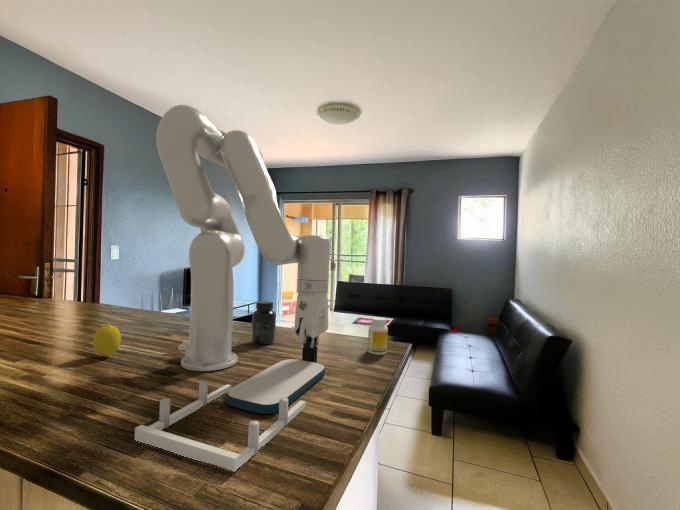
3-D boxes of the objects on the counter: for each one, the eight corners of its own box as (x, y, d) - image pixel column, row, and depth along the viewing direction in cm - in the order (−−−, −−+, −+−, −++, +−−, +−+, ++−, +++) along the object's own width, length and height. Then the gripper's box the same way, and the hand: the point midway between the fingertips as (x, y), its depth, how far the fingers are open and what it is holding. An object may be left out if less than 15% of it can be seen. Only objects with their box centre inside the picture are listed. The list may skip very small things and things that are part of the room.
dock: (133, 440, 47) (134, 412, 47) (226, 389, 65) (226, 368, 65) (235, 474, 41) (237, 441, 41) (306, 407, 59) (307, 384, 59)
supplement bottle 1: (256, 338, 103) (258, 299, 103) (277, 340, 102) (279, 301, 102) (247, 344, 96) (249, 303, 96) (270, 346, 95) (271, 304, 95)
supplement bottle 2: (363, 351, 94) (365, 317, 94) (377, 348, 98) (378, 315, 98) (377, 356, 90) (378, 321, 90) (390, 353, 94) (392, 319, 94)
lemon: (86, 358, 79) (88, 324, 79) (110, 352, 84) (111, 320, 84) (102, 362, 77) (103, 327, 77) (125, 355, 82) (126, 323, 82)
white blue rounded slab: (274, 420, 54) (274, 408, 54) (217, 405, 59) (218, 394, 59) (329, 373, 77) (330, 365, 76) (285, 365, 81) (286, 357, 81)
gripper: (314, 291, 72) (310, 376, 72) (337, 285, 86) (334, 356, 86) (283, 288, 74) (280, 370, 74) (311, 283, 88) (308, 352, 88)
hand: (309, 362), depth 80 cm, fingers closed
